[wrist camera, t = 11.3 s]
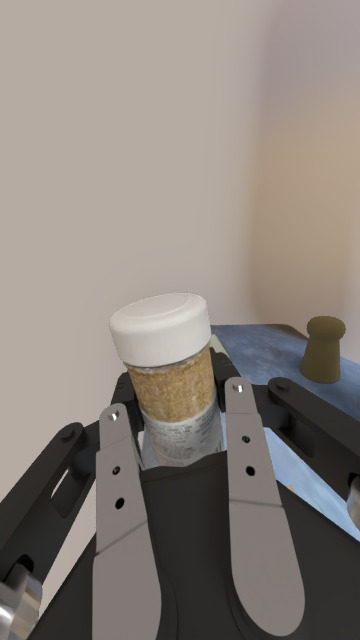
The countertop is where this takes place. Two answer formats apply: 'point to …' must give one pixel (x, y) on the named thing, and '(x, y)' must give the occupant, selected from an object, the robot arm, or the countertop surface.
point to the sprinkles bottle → (172, 374)
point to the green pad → (217, 345)
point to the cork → (323, 350)
